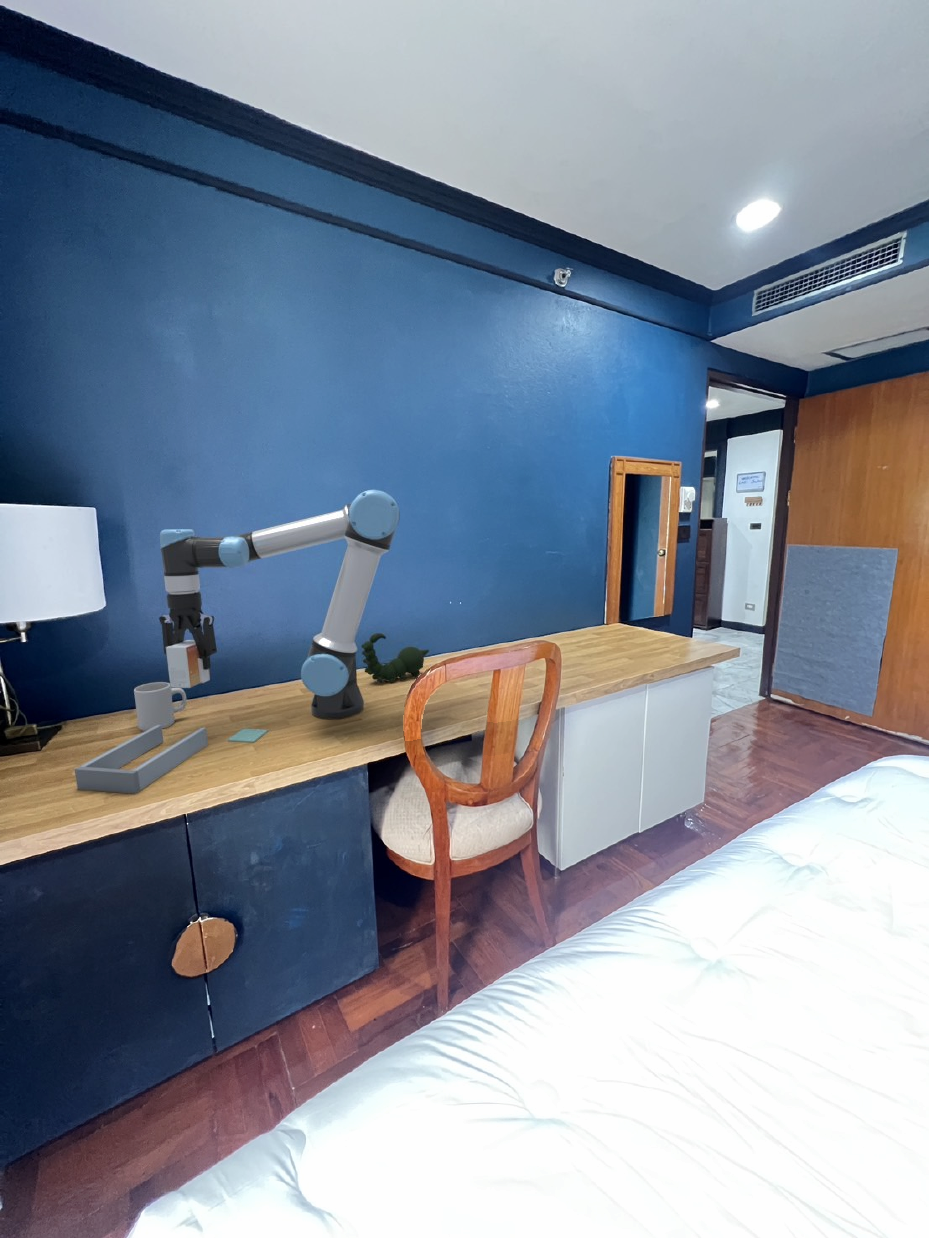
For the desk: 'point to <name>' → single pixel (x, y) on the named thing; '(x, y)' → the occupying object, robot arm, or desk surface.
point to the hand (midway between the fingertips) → (193, 680)
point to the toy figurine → (392, 662)
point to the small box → (183, 664)
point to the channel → (112, 779)
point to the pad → (248, 735)
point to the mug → (156, 704)
